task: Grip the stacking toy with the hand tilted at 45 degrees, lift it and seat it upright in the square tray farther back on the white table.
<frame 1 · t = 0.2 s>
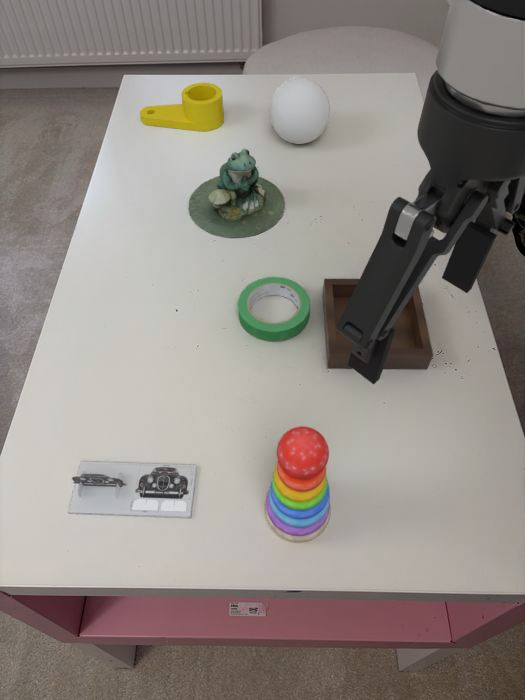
hand: (412, 325, 45), 27 cm above the table, tool pointing down, fingers open, 13 cm apart
decorative ball: (298, 139, 108), on the table
car cutout: (134, 490, 65), on the table
square tray: (371, 329, 79), on the table
crank: (182, 120, 113), on the table
tape roll: (273, 314, 81), on the table
frog figurine: (236, 205, 96), on the table
stacking toy: (297, 511, 64), on the table
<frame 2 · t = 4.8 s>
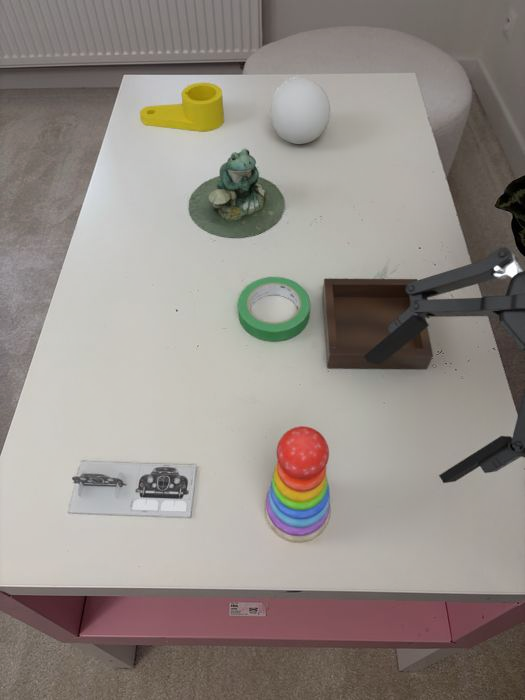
hand: (406, 415, 50), 18 cm above the table, tool tilted 45°, fingers open, 13 cm apart
nothing on the table moved.
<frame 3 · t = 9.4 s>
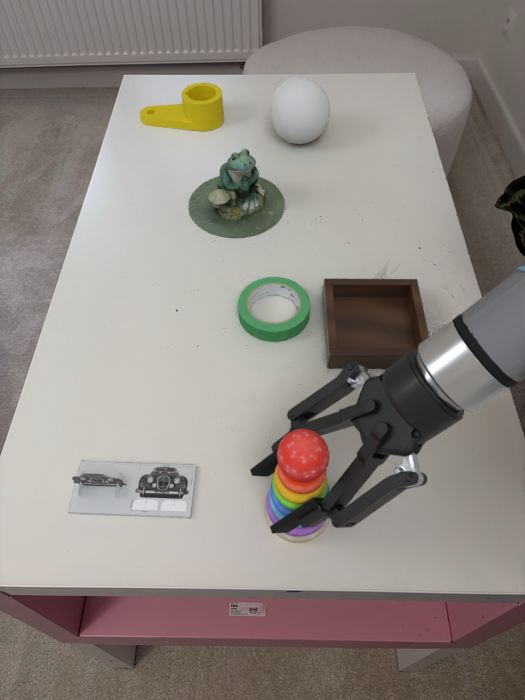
hand: (269, 500, 57), 7 cm above the table, tool tilted 45°, fingers closed on stacking toy, 6 cm apart
stacking toy: (297, 511, 63), on the table, touching gripper
everything else where it was.
when the fingers open (8 cm above the table, at t = 19.2 s): stacking toy stays where it is, resting on square tray.
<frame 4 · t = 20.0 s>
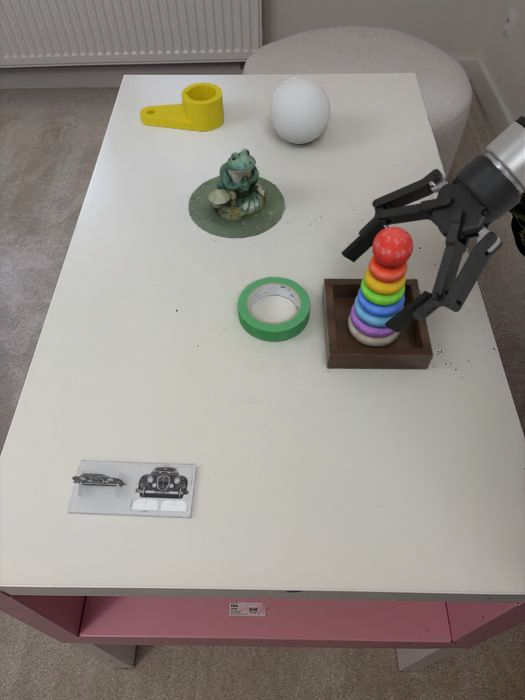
hand: (367, 291, 71), 10 cm above the table, tool tilted 45°, fingers open, 13 cm apart
stacking toy: (373, 328, 79), resting on square tray
everything else where it was.
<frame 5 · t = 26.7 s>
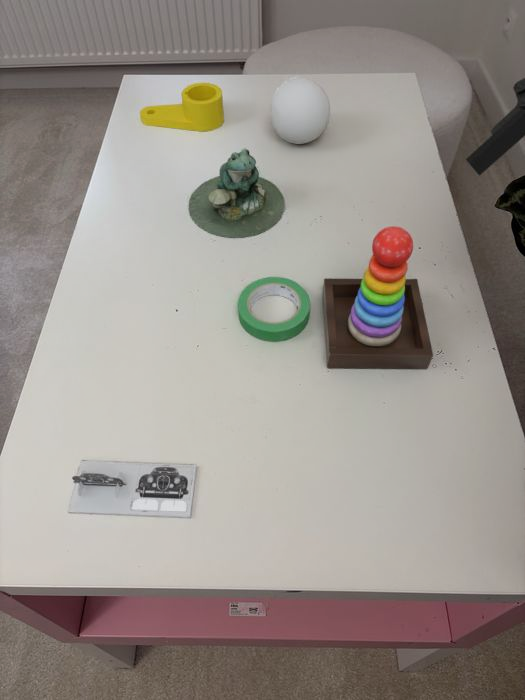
hand: (510, 208, 50), 30 cm above the table, tool tilted 45°, fingers open, 13 cm apart
nothing on the table moved.
at the end: stacking toy 0.1 cm off-centre in the square tray, point 0.4 cm above the square tray's base; stacking toy tilted 0° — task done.
